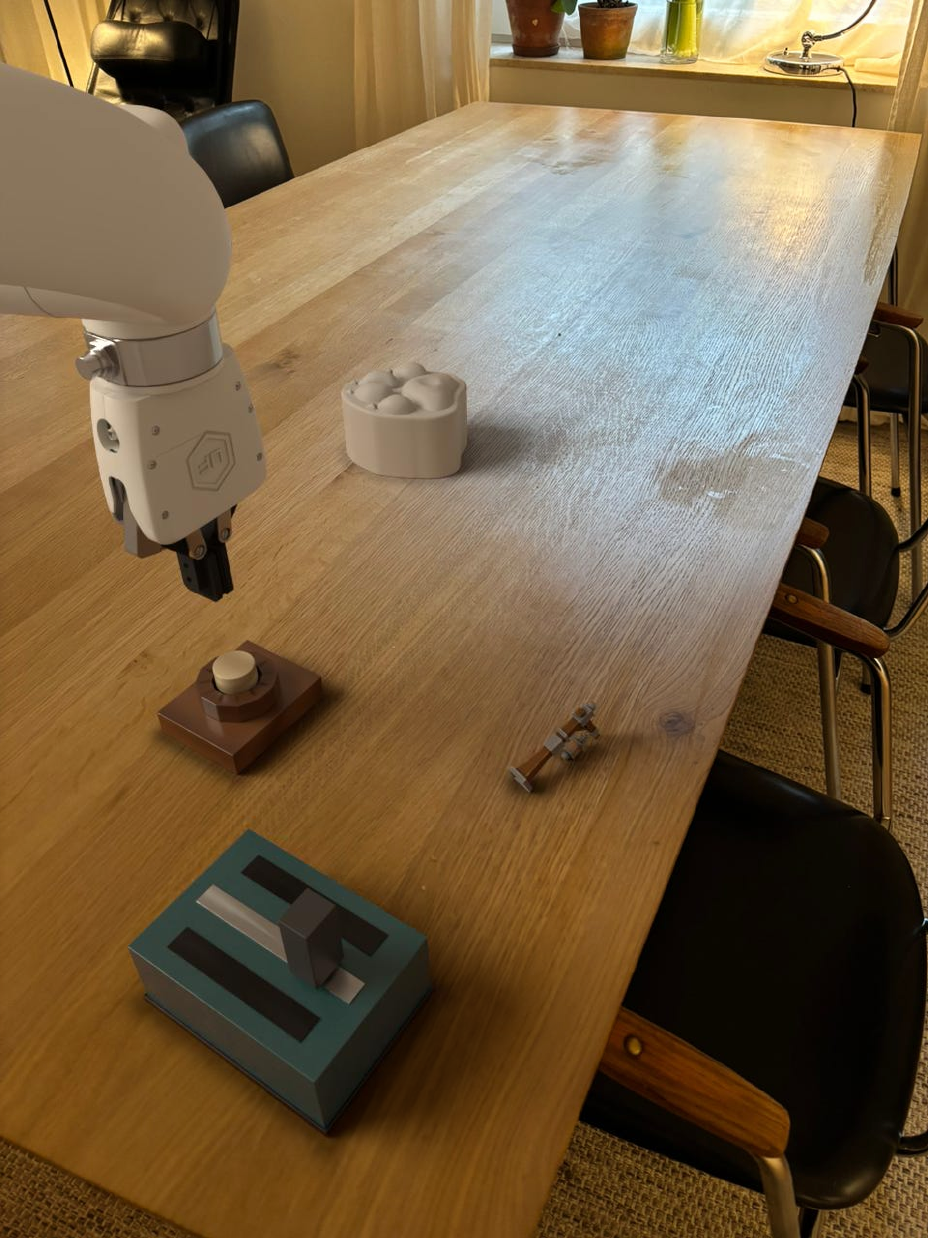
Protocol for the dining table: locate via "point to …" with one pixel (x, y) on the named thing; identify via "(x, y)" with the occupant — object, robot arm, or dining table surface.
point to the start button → (235, 672)
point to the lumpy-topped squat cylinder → (406, 422)
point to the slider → (311, 938)
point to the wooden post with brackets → (558, 745)
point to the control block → (241, 710)
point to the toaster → (283, 980)
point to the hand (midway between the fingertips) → (210, 589)
